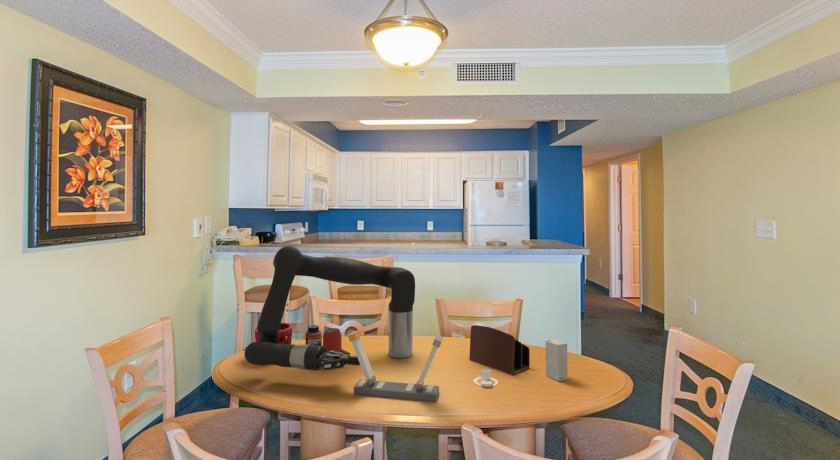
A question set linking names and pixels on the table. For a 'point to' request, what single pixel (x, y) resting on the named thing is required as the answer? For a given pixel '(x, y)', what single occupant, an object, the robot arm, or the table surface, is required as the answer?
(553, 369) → the skincare box
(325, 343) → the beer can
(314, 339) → the supplement bottle
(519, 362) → the letter holder
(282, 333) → the plant pot
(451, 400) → the table surface
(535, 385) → the table surface
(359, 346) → the orange switch
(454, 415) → the table surface
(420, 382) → the grey switch
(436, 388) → the switch panel
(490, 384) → the teacup and saucer
